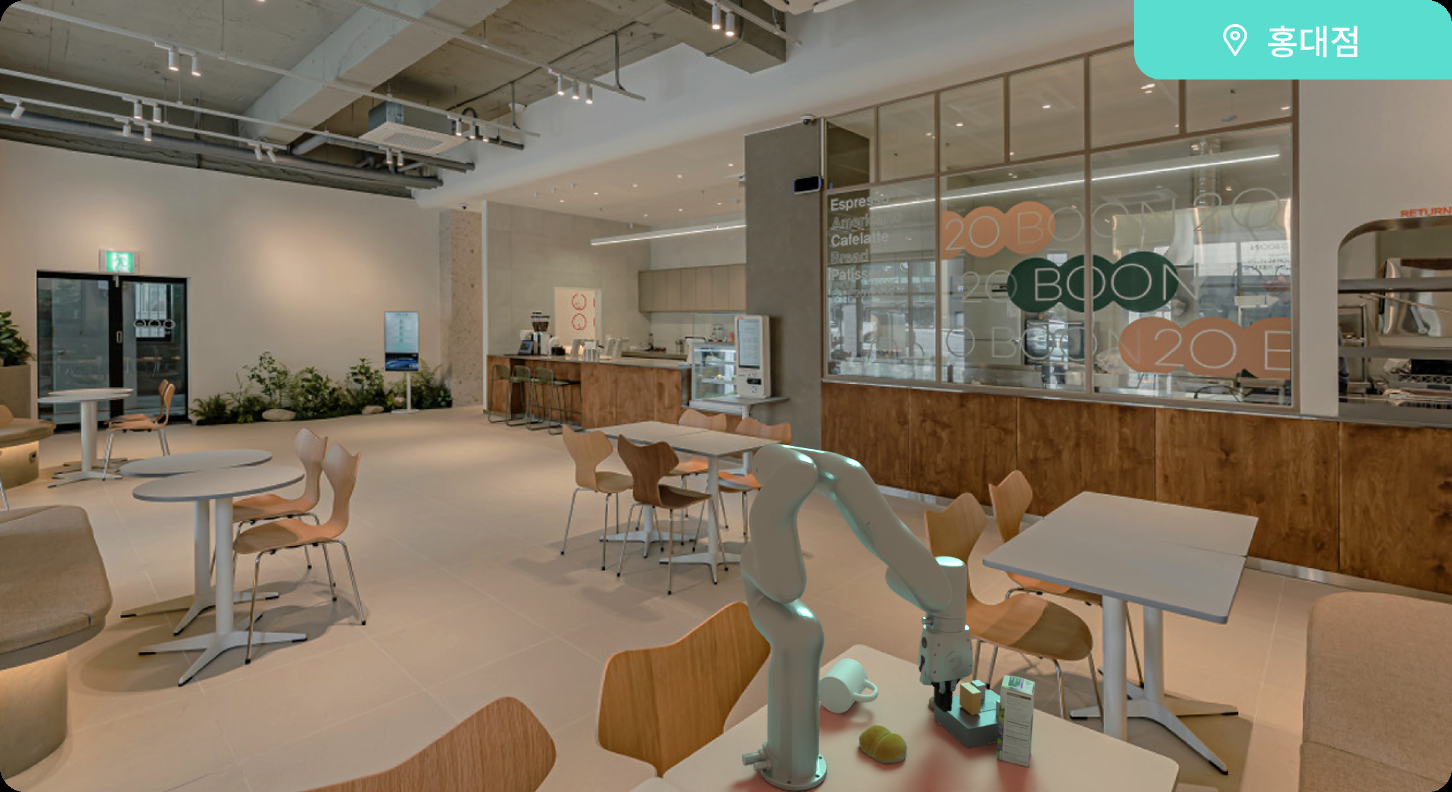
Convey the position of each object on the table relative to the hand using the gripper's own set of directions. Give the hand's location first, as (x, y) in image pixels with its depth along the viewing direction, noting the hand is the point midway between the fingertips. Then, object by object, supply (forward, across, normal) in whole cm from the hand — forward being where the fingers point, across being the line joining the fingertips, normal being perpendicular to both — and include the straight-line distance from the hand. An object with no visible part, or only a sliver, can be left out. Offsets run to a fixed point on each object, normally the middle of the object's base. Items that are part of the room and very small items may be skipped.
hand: (943, 708), depth 138 cm
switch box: (+6, +9, 0) cm, 10 cm away
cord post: (+6, +6, +9) cm, 12 cm away
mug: (+6, -12, +16) cm, 21 cm away
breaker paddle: (+1, +6, 0) cm, 6 cm away
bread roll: (+6, -14, -1) cm, 15 cm away
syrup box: (+6, +9, -10) cm, 15 cm away
